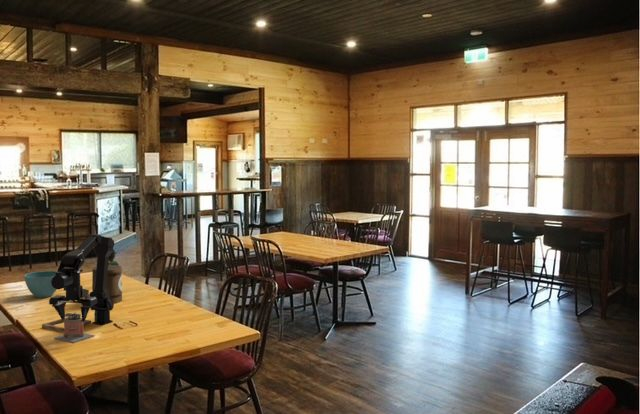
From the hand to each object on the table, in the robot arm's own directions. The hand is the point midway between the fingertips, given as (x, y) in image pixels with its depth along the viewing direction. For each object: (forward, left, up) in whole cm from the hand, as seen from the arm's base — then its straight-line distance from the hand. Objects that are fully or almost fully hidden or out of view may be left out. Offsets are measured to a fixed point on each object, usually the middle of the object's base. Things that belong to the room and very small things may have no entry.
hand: (73, 320), depth 229 cm
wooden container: (+37, -51, -8) cm, 64 cm away
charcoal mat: (0, 0, -7) cm, 7 cm away
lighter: (0, 0, -7) cm, 7 cm away
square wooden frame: (+17, -10, -7) cm, 21 cm away
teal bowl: (+76, -42, -7) cm, 87 cm away
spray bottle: (+52, -66, -7) cm, 84 cm away
